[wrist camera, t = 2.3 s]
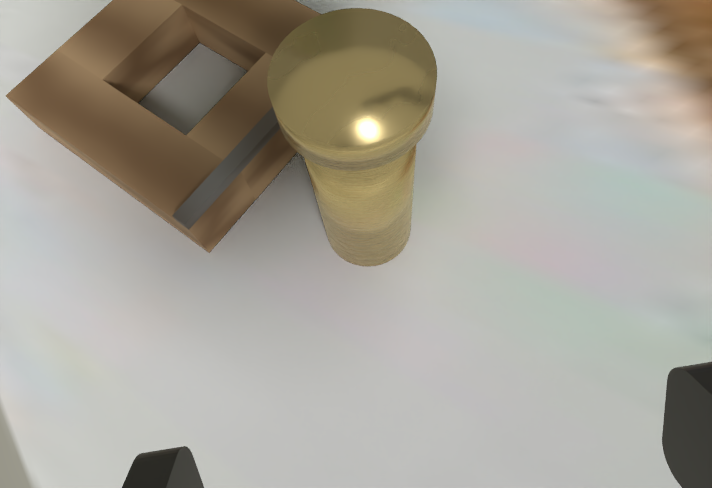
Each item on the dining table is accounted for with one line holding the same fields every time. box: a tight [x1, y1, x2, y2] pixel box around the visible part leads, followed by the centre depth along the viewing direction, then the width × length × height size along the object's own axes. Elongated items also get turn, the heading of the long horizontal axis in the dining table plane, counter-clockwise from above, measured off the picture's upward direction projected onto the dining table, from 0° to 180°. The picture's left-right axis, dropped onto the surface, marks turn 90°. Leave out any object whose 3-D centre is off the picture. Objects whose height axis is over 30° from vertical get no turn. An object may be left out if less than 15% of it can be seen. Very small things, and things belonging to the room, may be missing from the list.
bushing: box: [267, 8, 437, 266], centre depth 22 cm, size 5×5×12 cm
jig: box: [6, 0, 321, 252], centre depth 30 cm, size 14×14×4 cm
